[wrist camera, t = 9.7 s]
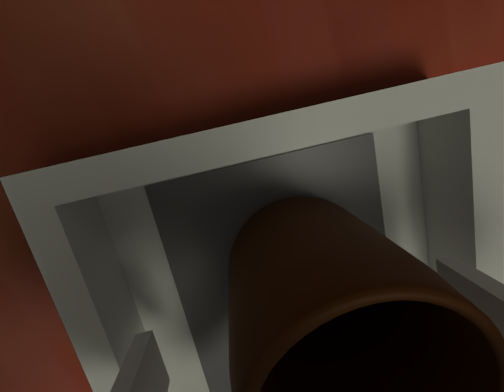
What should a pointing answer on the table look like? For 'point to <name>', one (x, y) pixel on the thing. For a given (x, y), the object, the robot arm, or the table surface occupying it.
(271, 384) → the mug
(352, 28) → the table surface
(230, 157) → the tray
